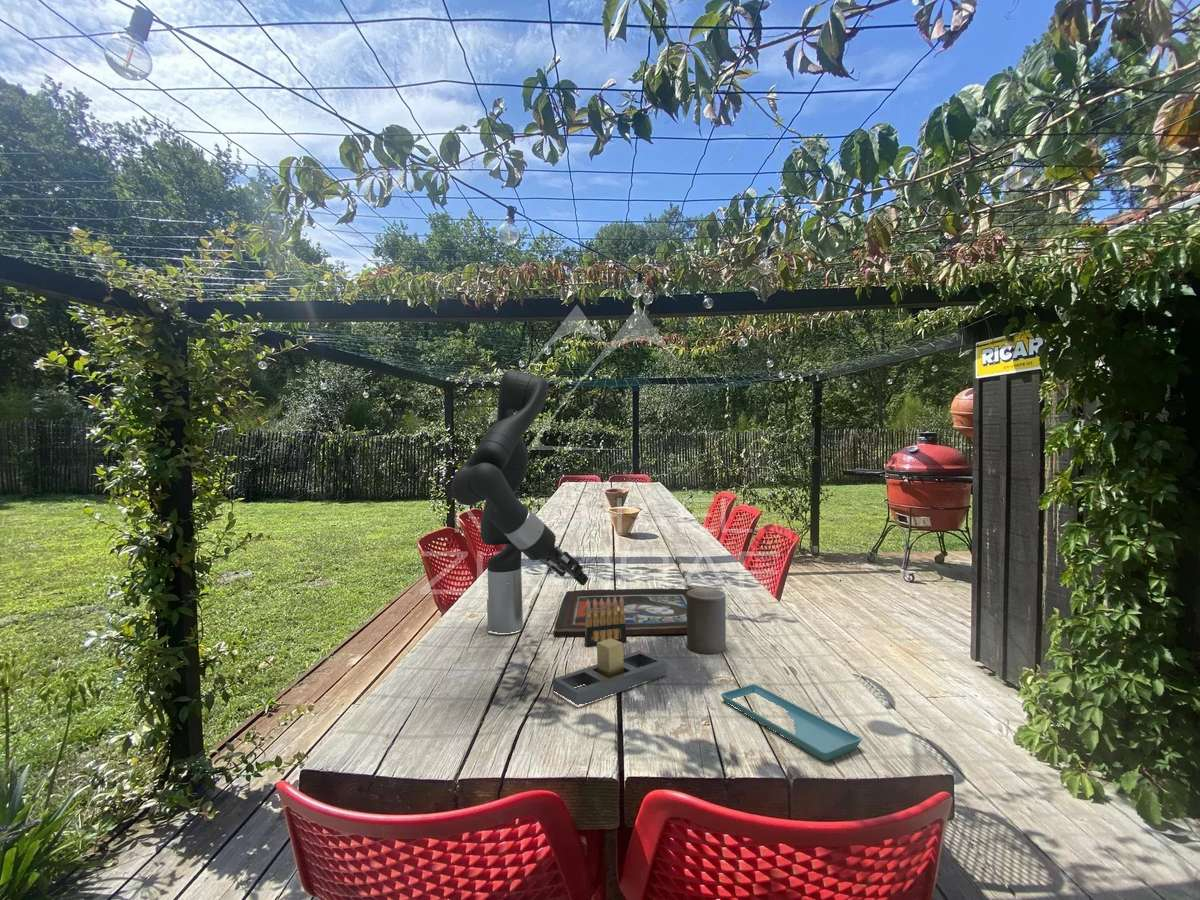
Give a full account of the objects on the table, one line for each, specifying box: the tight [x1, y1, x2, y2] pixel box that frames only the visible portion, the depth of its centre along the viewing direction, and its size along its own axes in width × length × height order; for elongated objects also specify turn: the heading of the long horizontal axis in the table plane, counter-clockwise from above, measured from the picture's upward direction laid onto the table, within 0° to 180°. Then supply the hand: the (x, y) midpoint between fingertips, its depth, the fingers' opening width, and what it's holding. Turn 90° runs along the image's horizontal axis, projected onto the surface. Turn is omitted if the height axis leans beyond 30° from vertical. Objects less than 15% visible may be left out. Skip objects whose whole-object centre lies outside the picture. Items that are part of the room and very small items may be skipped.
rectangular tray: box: [720, 683, 863, 762], centre depth 108 cm, size 26×9×2 cm, turn 28°
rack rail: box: [552, 650, 667, 705], centre depth 126 cm, size 24×9×3 cm, turn 127°
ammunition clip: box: [584, 596, 628, 648], centre depth 150 cm, size 11×2×12 cm, turn 103°
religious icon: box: [553, 587, 696, 638], centre depth 175 cm, size 40×45×3 cm
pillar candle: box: [686, 587, 727, 655], centre depth 146 cm, size 10×10×15 cm
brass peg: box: [596, 638, 624, 678], centre depth 126 cm, size 4×4×9 cm
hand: (574, 577), depth 132 cm, fingers open, 8 cm apart
